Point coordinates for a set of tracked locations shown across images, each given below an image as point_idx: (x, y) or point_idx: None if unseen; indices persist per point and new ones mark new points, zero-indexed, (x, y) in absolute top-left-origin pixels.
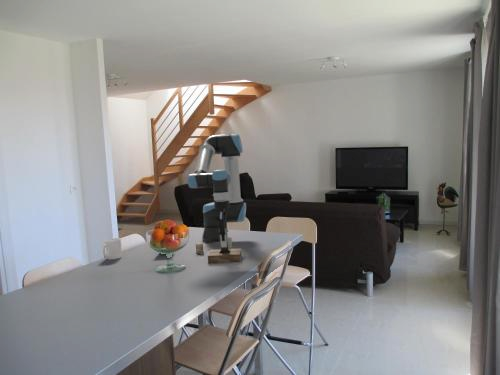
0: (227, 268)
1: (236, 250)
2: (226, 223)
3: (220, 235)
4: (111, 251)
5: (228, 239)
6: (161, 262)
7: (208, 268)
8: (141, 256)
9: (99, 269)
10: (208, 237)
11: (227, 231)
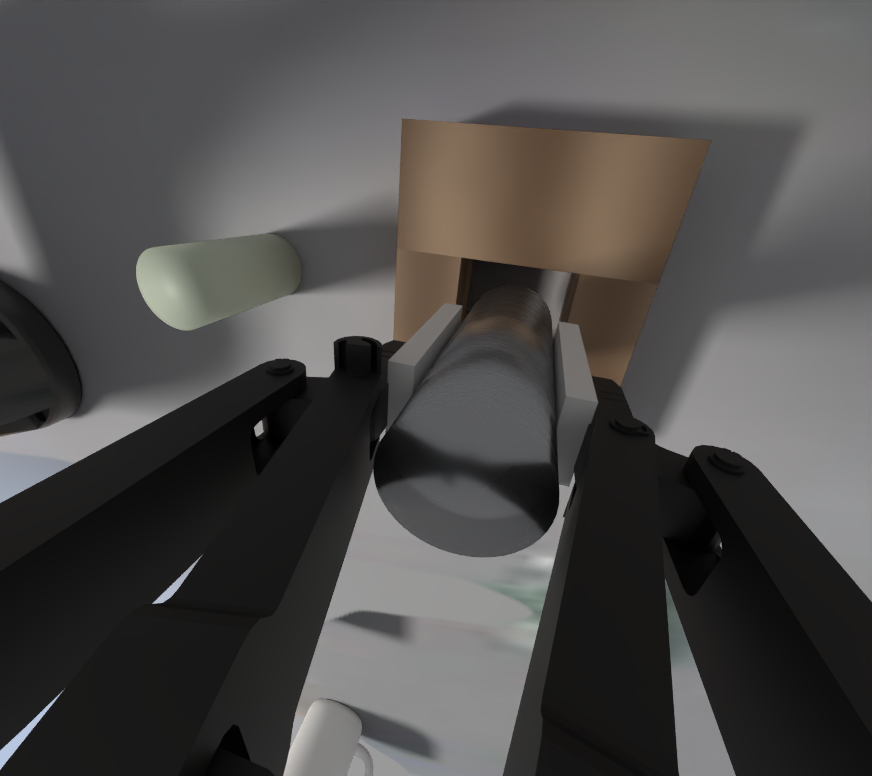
0: (835, 297)
1: (484, 187)
2: (197, 429)
3: (568, 475)
4: (349, 765)
5: (215, 281)
6: (450, 625)
7: (719, 445)
8: (333, 658)
9: (482, 769)
10: (42, 402)
11: (381, 352)
